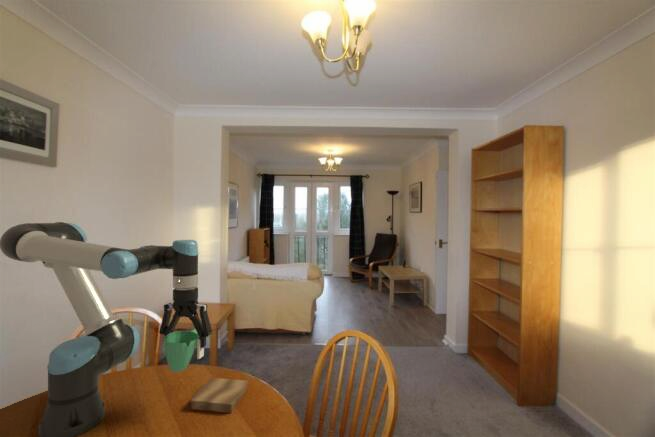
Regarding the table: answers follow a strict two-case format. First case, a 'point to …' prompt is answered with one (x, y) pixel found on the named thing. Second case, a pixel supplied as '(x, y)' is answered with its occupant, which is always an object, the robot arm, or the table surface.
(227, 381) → the walnut board
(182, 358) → the mug
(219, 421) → the table surface
